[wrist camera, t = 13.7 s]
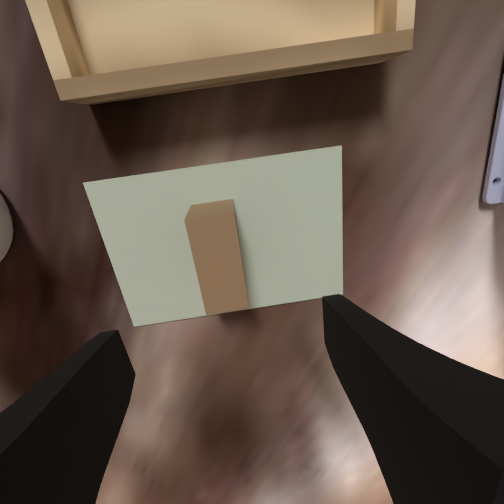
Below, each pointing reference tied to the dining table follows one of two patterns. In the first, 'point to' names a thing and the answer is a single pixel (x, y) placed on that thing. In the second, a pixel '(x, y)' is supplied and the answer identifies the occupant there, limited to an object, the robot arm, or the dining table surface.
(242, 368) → the dining table surface
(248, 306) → the pale green plate
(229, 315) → the dining table surface
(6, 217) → the milk bottle
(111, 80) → the wooden box
